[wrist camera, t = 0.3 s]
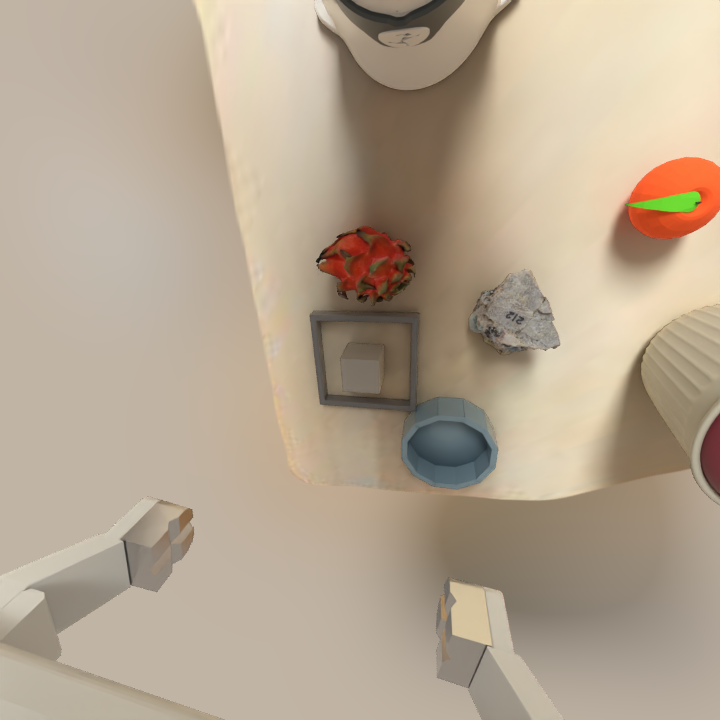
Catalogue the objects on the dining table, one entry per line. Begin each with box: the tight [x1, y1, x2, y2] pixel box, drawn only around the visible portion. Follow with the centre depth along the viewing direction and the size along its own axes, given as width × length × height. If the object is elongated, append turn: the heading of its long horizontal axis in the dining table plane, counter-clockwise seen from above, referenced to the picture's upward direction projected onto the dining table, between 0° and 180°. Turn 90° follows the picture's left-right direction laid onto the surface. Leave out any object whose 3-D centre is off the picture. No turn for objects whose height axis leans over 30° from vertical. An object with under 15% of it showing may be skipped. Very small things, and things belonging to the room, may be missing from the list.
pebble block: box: [340, 343, 384, 394], centre depth 49 cm, size 5×5×5 cm
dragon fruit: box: [316, 226, 415, 306], centre depth 42 cm, size 8×8×12 cm
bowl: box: [402, 397, 498, 489], centre depth 52 cm, size 13×13×4 cm
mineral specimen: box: [469, 269, 560, 355], centre depth 42 cm, size 10×8×10 cm
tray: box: [310, 311, 419, 412], centre depth 51 cm, size 14×14×2 cm
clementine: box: [625, 157, 720, 239], centre depth 33 cm, size 8×7×7 cm
